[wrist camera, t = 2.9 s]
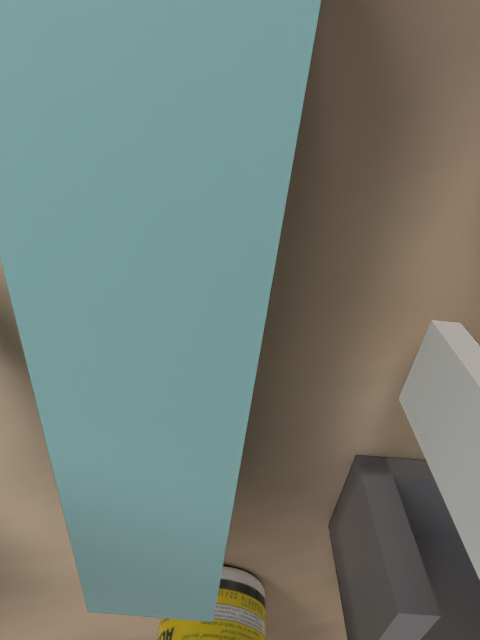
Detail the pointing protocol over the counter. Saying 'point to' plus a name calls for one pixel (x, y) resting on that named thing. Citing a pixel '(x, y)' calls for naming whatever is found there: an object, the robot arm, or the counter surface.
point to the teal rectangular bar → (147, 265)
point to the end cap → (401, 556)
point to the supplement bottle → (226, 613)
